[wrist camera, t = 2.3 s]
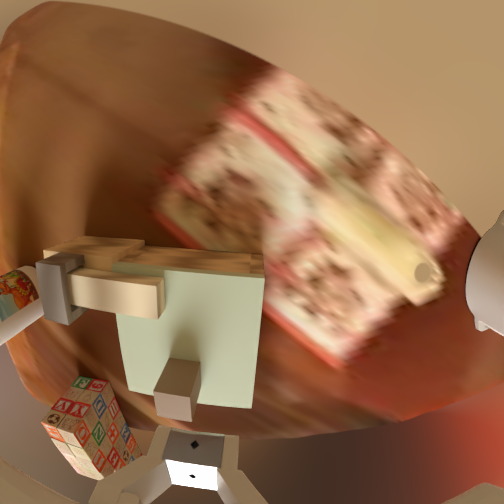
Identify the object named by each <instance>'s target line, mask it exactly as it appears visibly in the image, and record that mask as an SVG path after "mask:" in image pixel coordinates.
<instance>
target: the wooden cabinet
mask: <svg viewBox="0 0 504 504" xmlns="http://www.w3.org/2000/svg"><path fill="white" fill-rule="evenodd" d="M43 252H44V259H42V260H40V261H38V262H36V270H37V278H38V284H39V291H40V297H41V302H42V307H43V312H44V317H45V319H48V320H51V321H55V322H58V323H62V324H66V325H70V324H71V323H72V322H73V321H74V320H76V319H77V318H78V317H79V316H81V315H82V314H83V313H84V312H85V311H87V310H88V309H89V308H86V307H81V306H77V305H72V304H70V299H69V292H68V284H67V276H66V273H67V272H69V271H71V270H73V269H75V268H77V267H78V268H86V269H93V270H101V271H109V272H112V264H113V263H115V262H117V261H118V262H127V263H137V264H147V265H157V266H168V267H178V268H189V269H201V270H212V271H224V272H236V273H249V274H262V275H264V264H263V255H262V254H249V253H236V252H224V251H211V250H198V249H185V248H172V247H160V246H147V245H145V240H138V239H124V238H110V237H96V236H82V237H79V238H76V239H73V240H70V241H67V242H64V243H61V244H59V245H56V246H53V247H50V248H48V249H45V250H43Z"/></svg>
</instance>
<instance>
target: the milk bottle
mask: <svg viewBox="0 0 504 504" xmlns="http://www.w3.org/2000/svg"><path fill="white" fill-rule="evenodd" d="M42 315H44V312H43V307H42V302H41V297H40V291H39V284H38V278H37V270H36V268H34V267H32V266H23V267H20V268H18V269H16V270H13V271H11V272H9V273H7V274H4V275H2V276H0V345H2V344H3V343H5V342H6V341H8V340H9V339H11V338H12V337H13V336H15V335H16V334H17V333H19V332H20V331H22V330H23V329H24V328H26V327H27V326H29V325H30V324H31V323H33V322H34V321H35V320H37V319H38V318H40V317H41V316H42Z"/></svg>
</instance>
